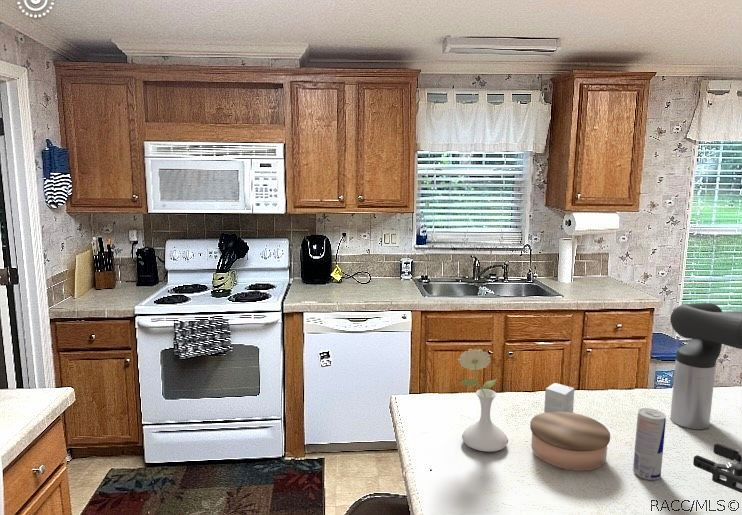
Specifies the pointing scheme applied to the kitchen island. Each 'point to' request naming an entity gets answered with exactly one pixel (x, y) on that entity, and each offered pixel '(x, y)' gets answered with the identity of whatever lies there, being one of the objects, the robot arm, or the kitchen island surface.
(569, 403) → the product box
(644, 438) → the beverage can
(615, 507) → the kitchen island surface
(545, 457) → the lidded bowl
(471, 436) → the flower in vase
